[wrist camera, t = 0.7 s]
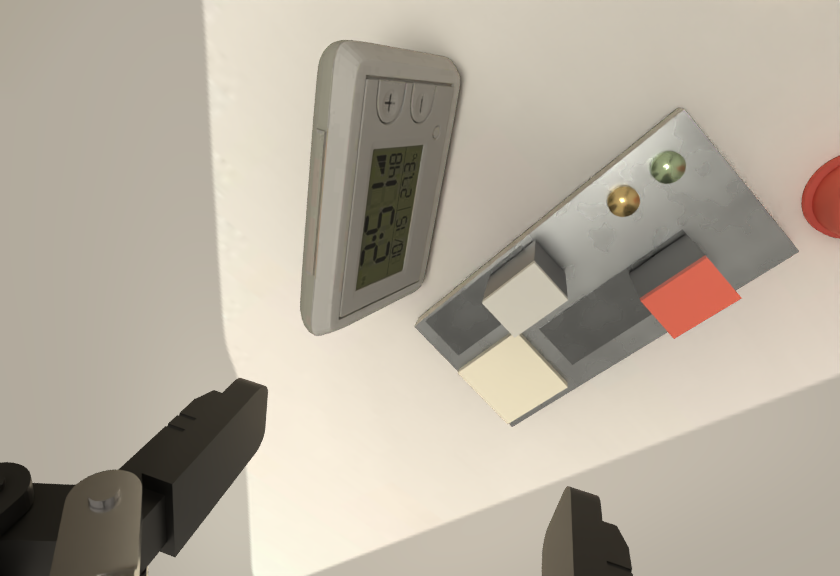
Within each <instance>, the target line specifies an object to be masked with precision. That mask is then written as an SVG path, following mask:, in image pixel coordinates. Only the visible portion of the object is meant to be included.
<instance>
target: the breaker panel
mask: <svg viewBox="0 0 840 576" xmlns="http://www.w3.org/2000/svg"><path fill="white" fill-rule="evenodd" d="M685 234H687V235H688V236H689V237H690V238H691V240H692V241H693V242H694V243H695V244H696V245H697V246H698V247H699V249H700V250H701V251H702V252H703V253H704V254H705V255H706V256H707V258H708V259H709V260H710V261H711V262H712V263H713V265H714V266H715V267H716V268H717V269H718V271H719V272H720V273H721V274H722V275H723V277H724V278H725V279H726V280H727V281H728V282H729V284H730V285H731V286H732V287H733V288H734V290H735V291H736V290H737V289H739V288H740V287H742V286H744V285H745V284H747V283H749V282H750V281H752V280H754V279H755V278H757V277H758V276H760V275H762V274H763V273H765V272H767V271H768V270H770V269H772V268H773V267H775V266H776V265H778V264H780V263H781V262H783V261H785V260H786V259H788V258H790V257H791V256H793V255H794V254H796V253H798V252H799V250H798V249H797V248H796V247H795V246H794V244H793V243H792V242H791V241H790V239H789V238H788V237H787V236H786V234H785V233H784V232H783V231H782V229H781V228H780V227H779V226H778V224H777V223H776V222H775V221H774V219H773V218H772V217H771V216H770V215H769V213H768V212H767V211H766V210H765V208H764V207H763V206H762V205H761V203H760V202H759V201H758V200H757V198H756V197H755V196H754V195H753V193H752V192H751V191H750V190H749V189H748V187H747V186H746V185H745V184H744V182H743V181H742V180H741V179H740V177H739V176H738V175H737V174H736V172H735V171H734V170H733V169H732V167H731V166H730V165H729V164H728V162H727V161H726V160H725V159H724V158H723V156H722V155H721V154H720V153H719V151H718V150H717V149H716V148H715V146H714V145H713V144H712V143H711V141H710V140H709V139H708V138H707V136H706V135H705V134H704V133H703V132H702V130H701V129H700V128H699V127H698V125H697V124H696V123H695V122H694V120H693V119H692V118H691V117H690V115H689V114H688V113H687V112H686V110H685V109H682V108H677V109H676V110H675V111H673V112H672V113H671V114H670V115H668V116H667V117H666V118H665V119H664V120H662V121H661V122H660V123H659V124H657V125H656V126H655V127H654V128H652V129H651V130H650V131H649V132H648V133H646V134H645V135H644V136H643V137H641V138H640V139H639V140H638V141H636V142H635V143H634V144H633V145H631V146H630V147H629V148H628V149H627V150H625V151H624V152H623V153H622V154H620V155H619V156H618V157H617V158H615V159H614V160H613V161H612V162H610V163H609V164H608V165H607V166H606V167H604V168H603V169H602V170H601V171H599V172H598V173H597V174H596V175H594V176H593V177H592V178H591V179H590V180H588V181H587V182H586V183H585V184H583V185H582V186H581V187H580V188H578V189H577V190H576V191H575V192H573V193H572V194H571V195H570V196H569V197H567V198H566V199H565V200H564V201H562V202H561V203H560V204H559V205H557V206H556V207H555V208H554V209H552V210H551V211H550V212H549V213H548V214H546V215H545V216H544V217H543V218H541V219H540V220H539V221H538V222H536V223H535V224H534V225H533V226H532V227H530V228H529V229H528V230H527V231H525V232H524V233H523V234H522V235H520V236H519V237H518V238H517V239H515V240H514V241H513V242H512V243H511V244H509V245H508V246H507V247H506V248H504V249H503V250H502V251H501V252H499V253H498V254H497V255H496V256H495V257H493V258H492V259H491V260H490V261H488V262H487V263H486V264H485V265H483V266H482V267H481V268H480V269H478V270H477V271H476V272H475V273H474V274H472V275H471V276H470V277H469V278H467V279H466V280H465V281H464V282H462V283H461V284H460V285H459V286H457V287H456V288H455V289H454V290H453V291H451V292H450V293H449V294H448V295H446V296H445V297H444V298H443V299H441V300H440V301H439V302H438V303H437V304H435V305H434V306H433V307H432V308H430V309H429V310H428V311H427V312H425V313H424V314H423V315H422V316H420V317H419V319H418V321H417V322H416V324H415V326H414V327H415V328H416V329H417V330H418V331H419V332H420V333H421V334H422V335H423V336H424V337H425V338H426V339H427V340H428V341H429V342H430V343H431V344H432V345H433V346H434V347H435V348H436V349H437V350H438V351H439V352H440V353H441V354H442V355H443V356H444V357H445V358H446V359H447V360H448V362H449V363H450V364H451V365H452V366H453V367H454V368H455V369H456V370H457V371H459V369H460V368H461V367H462V366H464V365H465V364H467V363H468V362H469V361H471V360H472V359H474V358H475V357H476V356H478V355H479V354H481V353H482V352H483V351H485V350H486V349H488V348H489V347H490V346H492V345H493V344H495V343H496V342H497V341H499V340H500V339H502V338H503V337H504V336H506V335H507V334H509V333H510V332H509V331H508V330H507V329H506V328H505V327H504V326H503V325H502V324H501V323H500V322H499V321H498V320H497V319H496V318H495V316H494V315H493V314H492V313H491V312H490V311H489V310H488V309H487V308H486V307H485V306H484V305H483V304H482V301H483V297H484V293H485V290H486V286H487V283H488V279H489V276H491V275H492V274H493V273H494V272H496V271H497V270H498V269H500V268H501V267H502V266H503V265H505V264H506V263H507V262H508V261H510V260H511V259H512V258H513V257H515V256H516V255H517V254H518V253H520V252H521V251H522V250H523V249H525V248H526V247H527V246H529V245H530V244H531V243H532V242H534V241H535V240H536V241H537V242H538V243H539V245H540V246H541V247H542V248H543V249H544V250H545V251H546V252H547V253H548V255H549V256H550V257H551V258H552V259H553V260H554V261H555V262H556V263H557V265H558V266H559V267H560V268H561V269H562V270H563V271H564V272H565V275H566V284H567V294H568V301H566V302H565V303H564V304H562V305H561V306H559V307H558V308H556V309H555V310H554V311H552V312H551V313H549V314H548V315H546V316H545V317H544V318H542V319H541V320H539V321H538V322H537V323H535V324H534V325H532V326H531V327H529V328H528V329H527V330H525V331H524V332H522V334H523V336H524V337H525V338H526V339H527V340H528V341H529V342H530V343H531V344H532V345H533V346H534V347H535V348H536V349H537V351H538V352H539V353H540V354H541V355H542V356H543V357H544V358H545V359H546V360H547V361H548V362H549V363H550V364H551V365H552V367H553V368H554V369H555V370H556V371H557V372H558V373H559V374H560V375H561V376H562V377H563V378H564V379H565V380H566V382H567V383H568V387H567V388H566V389H564V390H563V391H561V392H559V393H558V394H556V395H554V396H553V397H551V398H550V399H548V400H546V401H545V402H543V403H541V404H540V405H538V406H537V407H535V408H533V409H532V410H530V411H528V412H527V413H525V414H524V415H522V416H520V417H519V418H517V419H515V420H514V421H512V422H511V423H509V424H510V425H511V426H512V427H513V426H514V425H516V424H518V423H519V422H521V421H523V420H524V419H526V418H528V417H529V416H531V415H532V414H534V413H536V412H537V411H539V410H541V409H542V408H544V407H546V406H547V405H549V404H550V403H552V402H554V401H555V400H557V399H559V398H560V397H562V396H564V395H565V394H567V393H568V392H570V391H572V390H573V389H575V388H577V387H578V386H580V385H582V384H583V383H585V382H587V381H588V380H590V379H591V378H593V377H595V376H596V375H598V374H600V373H601V372H603V371H605V370H606V369H608V368H609V367H611V366H613V365H614V364H616V363H618V362H619V361H621V360H623V359H624V358H626V357H627V356H629V355H631V354H632V353H634V352H636V351H637V350H639V349H641V348H642V347H644V346H645V345H647V344H649V343H650V342H652V341H654V340H655V339H657V338H659V337H660V336H662V335H663V334H665V333H667V330H666V329H665V328H664V327H663V326H662V325H661V324H660V322H659V321H658V320H657V319H656V318H655V317H654V316H653V315H652V313H651V312H650V311H649V310H648V309H647V308H646V307H645V305H644V304H643V303H642V302H641V301H640V298H639V296H638V293H637V291H636V289H635V286H634V284H633V282H632V279H631V277H630V275H629V273H630V272H632V271H633V270H635V269H636V268H638V267H639V266H641V265H642V264H643V263H645V262H646V261H648V260H649V259H651V258H652V257H654V256H655V255H656V254H658V253H659V252H661V251H662V250H664V249H665V248H667V247H668V246H670V245H671V244H672V243H674V242H675V241H677V240H678V239H680V238H681V237H683V236H684V235H685Z"/></svg>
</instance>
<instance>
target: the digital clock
mask: <svg viewBox="0 0 840 576" xmlns="http://www.w3.org/2000/svg"><path fill="white" fill-rule="evenodd" d="M459 88H460V75H459V73H458V71H457V69H456V67H455V66H454V64H453V62H452V61H451V60H450V59H449V58H447V57H444V56H439V55H433V54H428V53H422V52H417V51H411V50H406V49H401V48H395V47H390V46H384V45H379V44H373V43H368V42H361V41H353V40H341V41H337V42H334V43H332V44H331V45H329V46H328V47H327V48H326V49H325V51H324V52H323V54H322V56H321V58H320V61H319V65H318V72H317V82H316V94H315V105H314V117H313V130H312V143H311V157H310V171H309V184H308V198H307V211H306V225H305V238H304V252H303V266H302V281H301V298H300V311H301V316H302V320H303V323H304V325H305V327H306V328H307V330H308V331H309V332H310V333H312V334H314V335H315V336H321V335H324V334H328V333H331V332H334V331H336V330H339V329H342V328H344V327H346V326H348V325H350V324H352V323H354V322H356V321H358V320H360V319H362V318H364V317H366V316H368V315H370V314H372V313H374V312H376V311H378V310H380V309H382V308H384V307H386V306H387V305H389V304H391V303H393V302H395V301H397V300H399V299H401V298H403V297H405V296H407V295H409V294H411V293H413V292H415V291H416V290H417V289H419V288H420V286H421V285H422V283H423V279H424V275H425V271H426V266H427V261H428V256H429V251H430V245H431V240H432V235H433V229H434V224H435V218H436V213H437V208H438V202H439V197H440V192H441V186H442V181H443V176H444V170H445V165H446V160H447V154H448V149H449V144H450V138H451V133H452V128H453V122H454V117H455V111H456V106H457V100H458V94H459Z"/></svg>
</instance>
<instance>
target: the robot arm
mask: <svg viewBox="0 0 840 576" xmlns="http://www.w3.org/2000/svg"><path fill="white" fill-rule="evenodd" d="M267 397H268V389H267V387H266V386H264V385H261V384H258V383H255V382H252V381H249V380H245V379H242V378H238V379H236V380H235V381H234V382H233V383H232V384H231V385H230V386H229V387H228V388H227V389H226V390H225V391H224V392H223V393H220V392H218V391H215V390H214V391H211V392H209V393H207V394H205V395H203V396H201V397H198V398H196V399H194V400H193V401H192V402H191V403H190V404H189V405H188V406H187V407H186V408H185V409H183V410H182V411H181V412H180V415H179V416H176V417H175V418H174V419H173V420H172V421H171V422H169V423H168V426H167V427H166V426H165V427H164V428H163V429H162V430H161V431H160V432H159V433H158V434H157V435H156V436H154V437H153V438H152V439H151V440H150V441H149V442H148V443H147V444H146V445H145V446H144V447H143V448H142V449H140V450H139V451H138V452H137V453H136V454H135V455H134V456H133V457H132V458H131V459H130V460H129V461H127V462H126V463H125V464H124V465H123V466H122V467H121V468H120V469H118V470H106V471H102V472H99V473H95V474H93V475H91V476H88V477H87V478H85V479H83V480H82V481H80V482H79V483H78V484H76V485H63V484H42V483H32V480H31V475H30V472H29V471H28V469H27V468H25V467H24V466H22V465H19V464H16V463H8V462H4V463H0V576H148V565H149V564H150V562H151V561H152V560H153V559H154V558H155V556H156V555H157V554H158V552H159V551H160V552H163V553H166V554H168V555H171V556H173V557H176V556H177V554H178V553H179V552H180V550H181V549H182V548H183V546H184V545H185V544H186V543H187V541H188V540H189V539H190V537H191V536H192V535H193V533H194V532H195V531H196V530H197V528H198V527H199V526H200V524H201V523H202V522H203V521H204V519H205V518H206V517H207V515H208V514H209V513H210V511H211V510H212V509H213V508H214V506H215V505H216V504H217V502H218V501H219V499H220V498H221V497H222V496H223V495H224V493H225V492H226V491H227V489H228V488H229V487H230V486H231V484H232V483H233V481H234V480H235V479H236V478H237V476H238V475H239V474H240V473H241V471H242V470H243V469H244V467H245V466H246V465H247V463H248V462H249V461H250V460H251V458H252V457H253V456H254V454H255V453H256V452H257V450H258V448H259V446H260V444H261V442H262V440H263V437H264V433H265V425H266V411H267ZM631 570H632V567H631V560H630V554H629V547H628V546H627V544H626V542H625V540H624V538H623V536H622V535H621V533H620V531H619V529H618V527H617V526H615V525H613V524H609V523H607V522H604V521H602V512H601V503H600V499H599V497H598V496H597V495H593V494H590V493H587V492H584V491H581V490H578V489H575V488H572V487H568V486H567V487H566V489H565V490H564V492H563V494H562V497H561V499H560V501H559V503H558V505H557V508H556V510H555V512H554V515H553V517H552V519H551V521H550V523H549V526H548V528H547V531H546V534H545V539H544V544H543V552H542V576H633V574H632V573H631Z"/></svg>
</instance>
